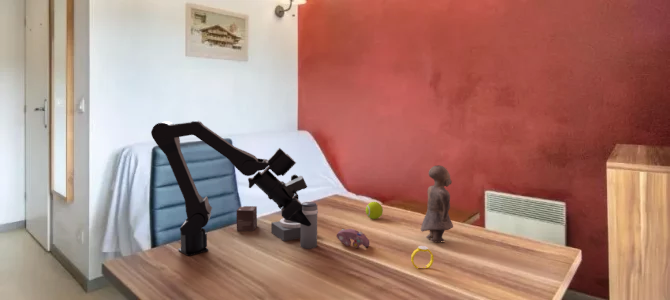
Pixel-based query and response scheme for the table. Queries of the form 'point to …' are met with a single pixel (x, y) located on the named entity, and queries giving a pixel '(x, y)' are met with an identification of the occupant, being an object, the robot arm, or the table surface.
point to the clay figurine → (438, 205)
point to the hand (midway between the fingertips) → (308, 220)
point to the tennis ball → (374, 210)
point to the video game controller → (352, 237)
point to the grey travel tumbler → (309, 232)
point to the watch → (424, 249)
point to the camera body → (286, 229)
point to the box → (246, 218)
